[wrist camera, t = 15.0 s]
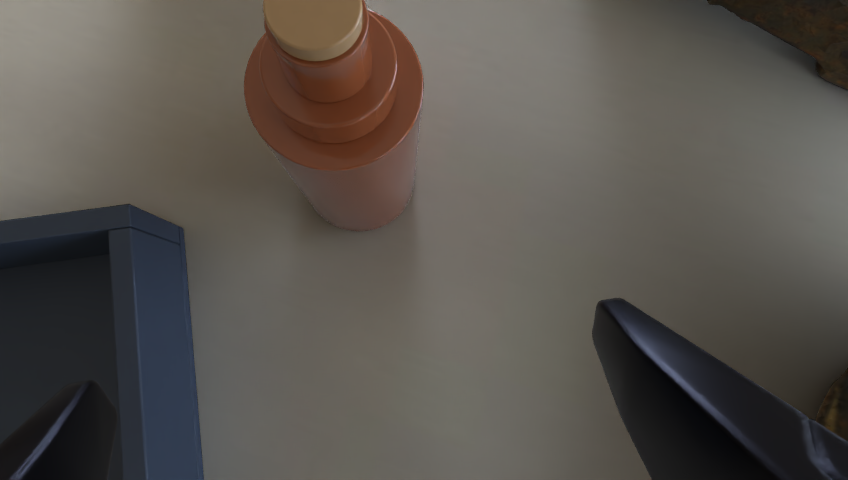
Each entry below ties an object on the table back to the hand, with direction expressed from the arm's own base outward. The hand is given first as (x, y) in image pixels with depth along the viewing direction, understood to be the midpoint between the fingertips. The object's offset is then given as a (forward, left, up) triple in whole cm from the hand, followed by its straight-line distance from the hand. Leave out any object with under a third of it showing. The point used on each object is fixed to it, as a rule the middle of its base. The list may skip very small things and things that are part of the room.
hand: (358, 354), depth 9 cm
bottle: (+7, 0, -12) cm, 14 cm away
